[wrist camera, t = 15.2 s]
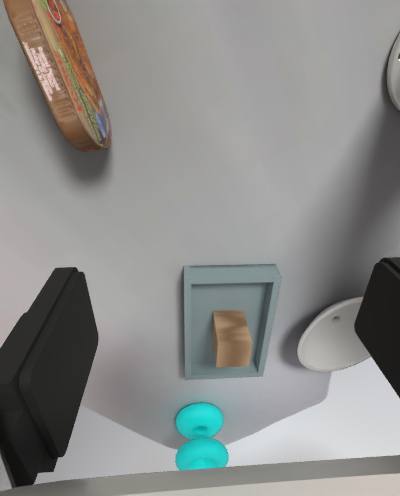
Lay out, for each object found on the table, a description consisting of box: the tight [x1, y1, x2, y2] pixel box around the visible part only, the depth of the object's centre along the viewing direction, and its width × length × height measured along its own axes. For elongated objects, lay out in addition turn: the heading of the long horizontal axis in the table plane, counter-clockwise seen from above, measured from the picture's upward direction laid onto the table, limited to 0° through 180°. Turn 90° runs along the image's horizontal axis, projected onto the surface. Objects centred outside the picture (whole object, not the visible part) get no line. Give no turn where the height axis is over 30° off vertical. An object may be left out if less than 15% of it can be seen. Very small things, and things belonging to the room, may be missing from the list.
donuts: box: [176, 403, 228, 471], centre depth 60 cm, size 10×10×10 cm
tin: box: [3, 0, 111, 152], centre depth 28 cm, size 15×3×8 cm, turn 13°
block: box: [212, 310, 252, 367], centre depth 47 cm, size 5×5×7 cm
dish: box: [297, 296, 371, 372], centre depth 50 cm, size 18×14×5 cm
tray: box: [184, 264, 282, 380], centre depth 50 cm, size 14×22×3 cm, turn 179°
